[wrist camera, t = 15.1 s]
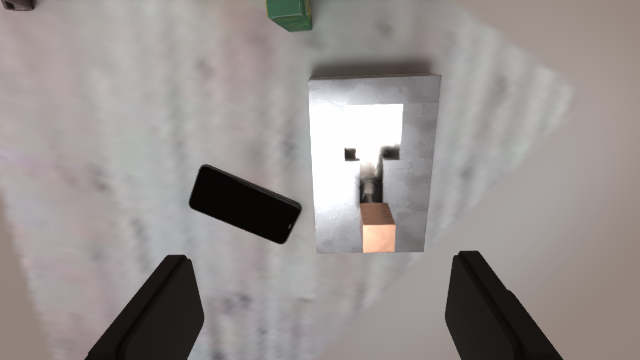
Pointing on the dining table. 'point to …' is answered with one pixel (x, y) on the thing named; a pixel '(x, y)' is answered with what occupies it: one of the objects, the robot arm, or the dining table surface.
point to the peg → (375, 219)
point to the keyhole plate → (372, 154)
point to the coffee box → (290, 14)
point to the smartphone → (244, 204)
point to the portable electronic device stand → (17, 5)
